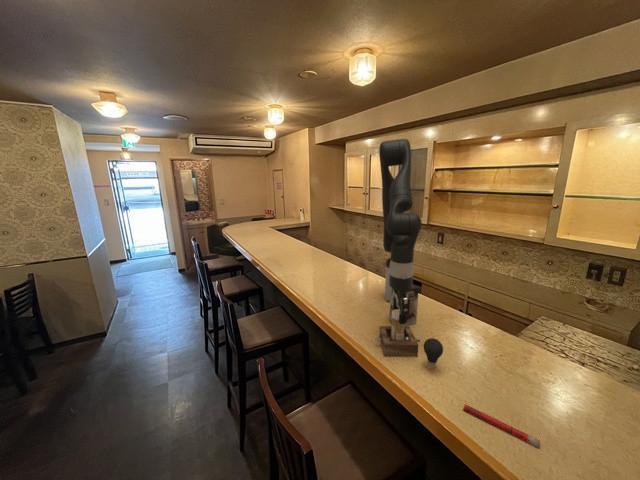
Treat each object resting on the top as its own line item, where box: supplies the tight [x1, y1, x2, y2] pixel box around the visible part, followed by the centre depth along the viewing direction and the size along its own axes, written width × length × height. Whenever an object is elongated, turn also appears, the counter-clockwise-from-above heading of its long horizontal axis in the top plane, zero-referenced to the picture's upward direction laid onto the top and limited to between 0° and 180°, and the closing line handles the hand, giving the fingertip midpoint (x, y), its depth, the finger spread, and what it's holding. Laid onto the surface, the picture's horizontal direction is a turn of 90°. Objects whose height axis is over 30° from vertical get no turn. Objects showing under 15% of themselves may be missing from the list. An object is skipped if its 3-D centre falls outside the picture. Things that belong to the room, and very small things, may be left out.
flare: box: [463, 404, 541, 449], centre depth 62 cm, size 2×15×2 cm, turn 49°
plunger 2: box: [404, 336, 421, 343], centre depth 91 cm, size 2×5×2 cm, turn 87°
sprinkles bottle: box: [391, 309, 404, 341], centre depth 91 cm, size 5×5×14 cm
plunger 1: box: [374, 337, 391, 343], centre depth 92 cm, size 2×5×2 cm, turn 87°
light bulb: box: [423, 337, 444, 369], centre depth 80 cm, size 6×6×10 cm
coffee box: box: [388, 283, 420, 326], centre depth 105 cm, size 9×6×16 cm
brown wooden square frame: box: [378, 325, 419, 358], centre depth 92 cm, size 11×11×5 cm
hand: (399, 316), depth 89 cm, fingers open, 8 cm apart
